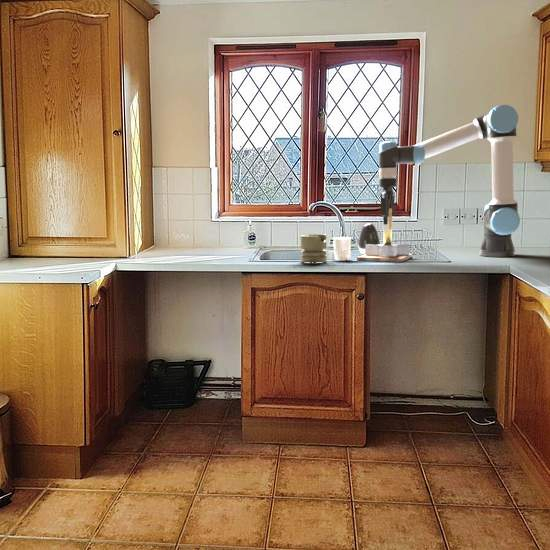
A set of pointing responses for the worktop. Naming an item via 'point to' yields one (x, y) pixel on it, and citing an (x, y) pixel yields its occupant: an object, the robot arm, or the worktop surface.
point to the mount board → (385, 258)
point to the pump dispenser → (368, 237)
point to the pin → (388, 235)
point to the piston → (313, 248)
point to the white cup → (342, 248)
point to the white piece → (387, 250)
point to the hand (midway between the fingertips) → (387, 231)
